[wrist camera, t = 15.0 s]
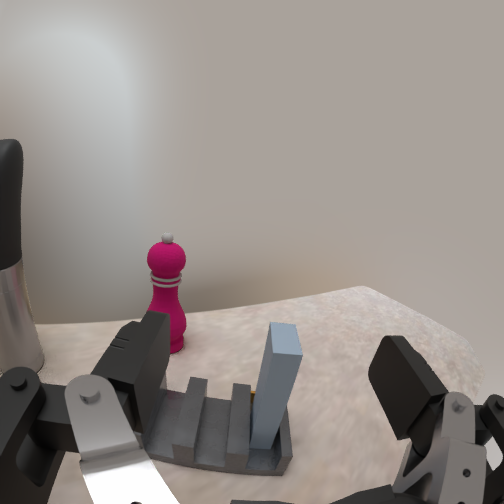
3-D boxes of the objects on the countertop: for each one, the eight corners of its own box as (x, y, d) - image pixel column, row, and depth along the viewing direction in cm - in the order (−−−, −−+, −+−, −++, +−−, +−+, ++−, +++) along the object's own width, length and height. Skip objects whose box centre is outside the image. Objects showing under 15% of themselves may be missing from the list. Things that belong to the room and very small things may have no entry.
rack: (96, 440, 22) (85, 416, 21) (125, 383, 33) (121, 358, 32) (282, 475, 23) (293, 456, 21) (277, 409, 34) (284, 385, 32)
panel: (248, 447, 25) (273, 352, 21) (249, 417, 30) (270, 321, 26) (270, 449, 25) (302, 355, 21) (268, 419, 30) (295, 324, 26)
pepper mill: (184, 332, 49) (189, 228, 44) (187, 356, 43) (194, 240, 37) (146, 331, 47) (145, 225, 41) (145, 355, 40) (141, 237, 35)
